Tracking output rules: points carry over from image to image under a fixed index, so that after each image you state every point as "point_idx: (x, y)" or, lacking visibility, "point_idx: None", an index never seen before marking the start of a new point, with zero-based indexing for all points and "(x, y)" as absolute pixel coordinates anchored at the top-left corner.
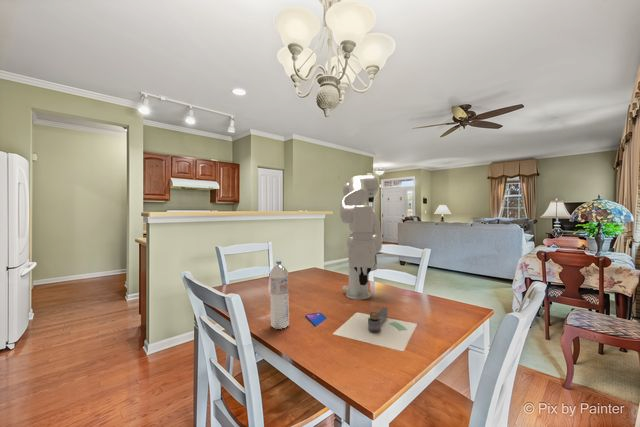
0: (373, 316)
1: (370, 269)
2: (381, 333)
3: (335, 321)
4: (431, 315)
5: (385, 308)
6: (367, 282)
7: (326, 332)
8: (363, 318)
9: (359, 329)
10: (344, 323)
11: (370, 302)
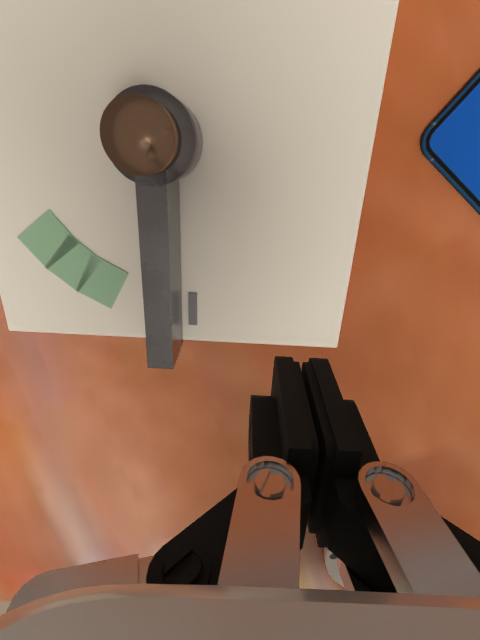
0: (129, 93)
1: (148, 582)
2: None
3: (433, 221)
4: (22, 462)
5: (153, 355)
6: (249, 420)
7: (456, 34)
8: (277, 282)
9: (254, 117)
10: (367, 163)
11: None
